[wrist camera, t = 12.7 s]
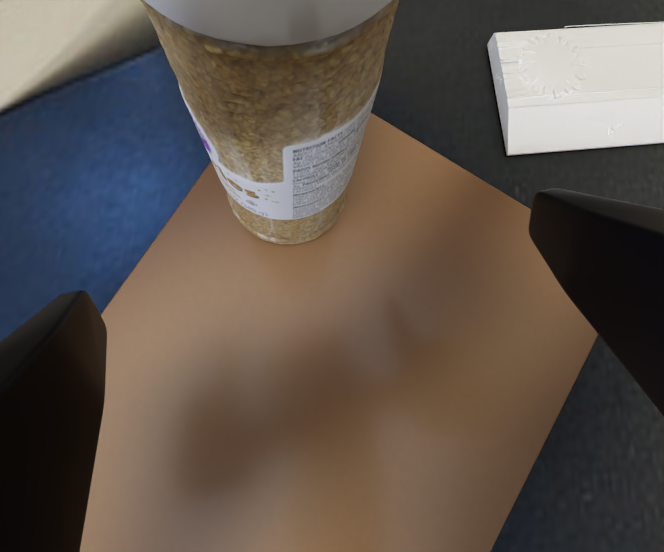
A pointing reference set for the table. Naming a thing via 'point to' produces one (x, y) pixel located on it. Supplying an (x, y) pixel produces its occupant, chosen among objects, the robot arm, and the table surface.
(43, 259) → the table surface
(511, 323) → the cork placemat
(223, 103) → the sprinkles bottle
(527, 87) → the white plastic blade
